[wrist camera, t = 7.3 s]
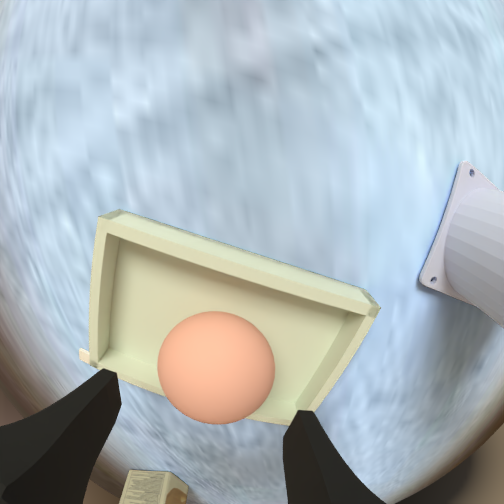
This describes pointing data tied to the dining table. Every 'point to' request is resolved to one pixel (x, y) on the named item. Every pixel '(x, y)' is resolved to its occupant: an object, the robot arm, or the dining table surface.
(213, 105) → the dining table surface
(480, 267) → the robot arm
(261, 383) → the ball
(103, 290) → the tray
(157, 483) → the skincare box
